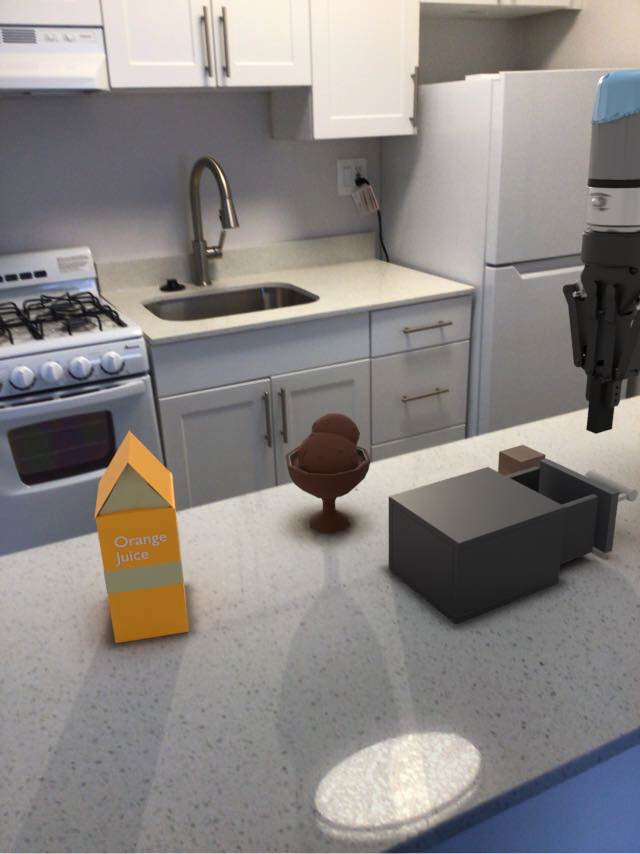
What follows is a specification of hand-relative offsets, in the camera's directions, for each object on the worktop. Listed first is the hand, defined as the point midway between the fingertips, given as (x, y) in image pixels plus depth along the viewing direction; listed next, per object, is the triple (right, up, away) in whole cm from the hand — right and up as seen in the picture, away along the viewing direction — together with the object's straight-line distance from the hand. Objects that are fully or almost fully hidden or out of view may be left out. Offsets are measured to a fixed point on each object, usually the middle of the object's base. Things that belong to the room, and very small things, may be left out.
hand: (599, 429), depth 90 cm
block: (-4, -8, +19) cm, 21 cm away
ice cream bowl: (-32, -13, +10) cm, 36 cm away
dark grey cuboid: (-16, -17, -3) cm, 23 cm away
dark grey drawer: (-5, -13, +2) cm, 14 cm away
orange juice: (-52, -20, -8) cm, 56 cm away
